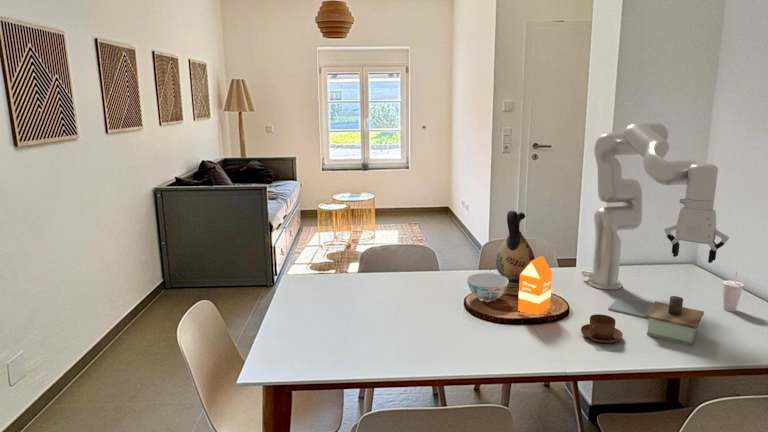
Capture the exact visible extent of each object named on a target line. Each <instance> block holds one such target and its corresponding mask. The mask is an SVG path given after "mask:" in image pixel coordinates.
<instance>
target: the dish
mask: <svg viewBox="0 0 768 432" xmlns="http://www.w3.org/2000/svg"><path fill="white" fill-rule="evenodd" d="M698 330H699V326H698V327H697V329H693V328H689V327H685V326H680V325H676V324H671V323H667V322H663V321H658V320H654V319H648V324H647V331H646V332H647V333H646V335H647V336H650V337H653V338H658V339H662V340H666V341H670V342H674V343H678V344H682V345H686V346H690V347H691V346H692V344H693V342H694V340H695V338H696V335H697V334H698Z"/></svg>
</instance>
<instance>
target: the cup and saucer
mask: <svg viewBox="0 0 768 432" xmlns="http://www.w3.org/2000/svg"><path fill="white" fill-rule="evenodd" d="M580 332H581V334H582V335H584V337H586V338H587V339H589V340H591V341H594V342H598V343H604V344H605V343H607V344H609V343H616V342H618V341H620V340H622V339H623V337H624V335H623V332H622V331H621V330H619V329H618V328H616V319H615V318H613V317H612V316H611V315H610V316H609V315H607V314H601V313H599V314H598V313H597V314H592V315H590V316H589V324H588V323H587V324H584V325H582V326H581V327H580Z"/></svg>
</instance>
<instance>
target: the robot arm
mask: <svg viewBox="0 0 768 432" xmlns="http://www.w3.org/2000/svg"><path fill="white" fill-rule="evenodd" d="M668 139H669V131H668V129H667V127H666V126H665V125H664V124H663V123H661V122H637V123H632V124H630V125H628V126H626V128H625V129H624V131H621V132H619V131H617V132H616V131H615V132H607V133H604V134H602V135H600V136H599V137H598V138H597V139H596V141H595V143H594V157H595V162H596V168H597V195H598V199H599V200H600V202H601V203H604V204H605V203H606V204H616V203H622V205H613V206H612V205H611V206H604V207H600V208H599V209H597V210H596V211H595V213H594V215H593V222H594V232H595V236H594V251H593V252H594V253H593V261H592V263H593V264H592V270H590V271H588V270H585V269H582V270H581V275H582V276H583V277H587V278H588V279H587V284H588V285H589V286H590V287H594V288H597V289H601V290H619V289H621V288H622V286H623V282H621V281H620V280H619V275H620V264H621V263H620V261H621V252H622V251H621V250H622V240H621V237H620V236H619V235H618V233H617V232H620V231H633V230H636V229H638V228H639V227H640V226H641V223H642V221H643V197H642V196H643V194H642V193H643V191H642V187H641V184H640V183H639V181H638V180H637V179H635V177H634V178H633V177H623V175H622V164H621V163H620V161H619V159H618V158H617V157H616V156H631V155H632V156H633V155H635V156H636V155H640V156H641V157H642V158H643V169H644V171H645V173H646V174H647V175H648V176H649V177H650V178H651V179H652V180H653V181H655V182H656V183H658V184H661V185H662V186H663V185H664V186H679V185H682V186H683V185H686V189H685V190H686V191H685V198H680V199H679V204H682V205H683V207H681V208H680V211H679V214H678V218H677V222H676V224H675V225H671V226H668V227H666V228H664V233H665V235H666V238H667V239H668V241H670V243H671V245H672V247H671V253H672V254H673V255H672V257H673V258H675V257H676V258H677V257H678V256H679V252H680V242H679V241H684V242H689V243H697V244H705V245H708V246H709V247H710V250H709V252H708V260H707V263H709V264H712V263H713V262H714V261H716V260H717V259H716V258H717V250H718V249H720V248H721V247H723V246H724V245H725V244H726V243H727V242H728V241H729V239H730V237H729V236H728V235H727V234H725V233H723V232H722V231H720V230H718V229H717V213H716V212H717V211H716V209H714V207H715V206H714V205H715V198H716V197H715V196H716V188H717V180H718V172H719V171H718V169H719V168H718V167H717V165H716V164H712V163H702V162H700V161H697V160H666V159H664V158H665V156H667V154H668V153H669V148H670V145H669V142H668ZM673 231H675V236H674V235H673V233H672V232H673ZM716 237H718V238H720V239H721V240H720V241H719V242H718V243H717V242H716V241H715V240H716Z"/></svg>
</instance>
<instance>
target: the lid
mask: <svg viewBox="0 0 768 432" xmlns="http://www.w3.org/2000/svg"><path fill="white" fill-rule="evenodd" d="M668 302H669V303H665V302H659V301H655V300H654V302H653V303H654V304H653V305H652V306H651V308H650V309H649V310H648V312H647V313H646V315H645V318H644V319H647V318H649V319H654V320H658V321H663V322H667V323H671V324H676V325H680V326H685V327H689V328H693V329H697V327H698V328H699V325H700V323H701V320H702V318H703V317H704V314H705V311H703V310H700V309H699V310H698V309H694V308H688V307H685V306H683V303H684V298H683V297H680V296H675V295H670V297H669V301H668ZM649 319H648V320H649Z"/></svg>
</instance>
